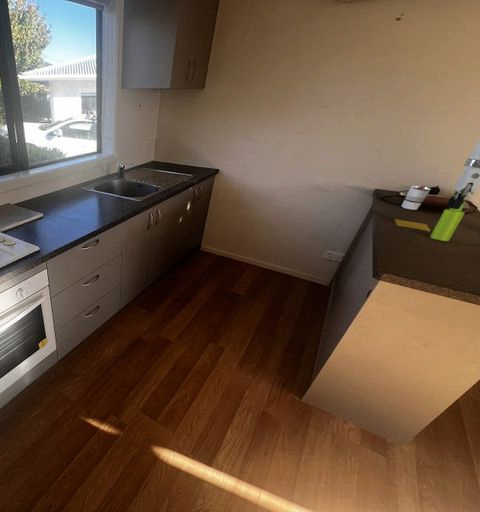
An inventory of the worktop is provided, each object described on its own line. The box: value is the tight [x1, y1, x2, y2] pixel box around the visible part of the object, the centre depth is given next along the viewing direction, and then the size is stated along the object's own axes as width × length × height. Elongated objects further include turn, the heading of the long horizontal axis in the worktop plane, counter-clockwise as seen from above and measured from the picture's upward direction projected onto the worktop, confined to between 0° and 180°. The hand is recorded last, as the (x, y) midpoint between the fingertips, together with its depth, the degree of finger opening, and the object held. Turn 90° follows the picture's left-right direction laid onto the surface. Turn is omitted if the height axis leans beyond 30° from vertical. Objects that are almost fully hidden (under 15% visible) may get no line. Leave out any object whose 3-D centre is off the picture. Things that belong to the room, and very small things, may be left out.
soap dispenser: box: [429, 193, 469, 242], centre depth 128 cm, size 6×7×20 cm
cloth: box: [394, 219, 431, 232], centre depth 147 cm, size 12×10×1 cm
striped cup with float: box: [400, 185, 432, 211], centre depth 166 cm, size 10×8×12 cm
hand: (452, 206), depth 127 cm, fingers closed on soap dispenser, 3 cm apart
